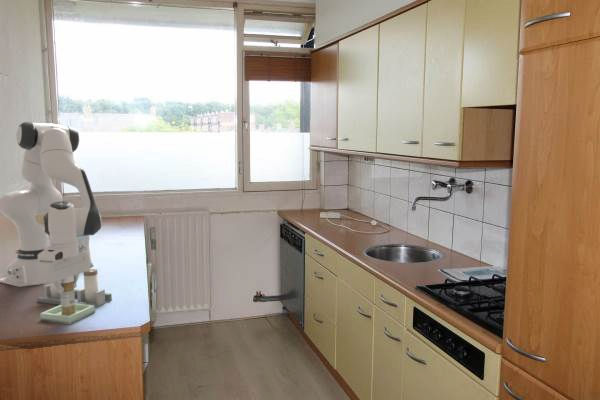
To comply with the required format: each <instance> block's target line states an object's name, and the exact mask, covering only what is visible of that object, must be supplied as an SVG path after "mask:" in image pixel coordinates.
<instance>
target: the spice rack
mask: <svg viewBox="0 0 600 400" xmlns="http://www.w3.org/2000/svg"><path fill="white" fill-rule="evenodd" d="M105 291H106V290H105V289H100V290H99V289H98V291H97V292H95V303H96V304H94V303H86V302H85V287H82V288H80V289H76V288H74V294H75V298H77V301H76V300H75V303H78V304H85V305H93V306H95V307H96V306H97V307H98V306H101V305H103V304H106V302H110V301H112V300H113V297H112V293H111V292H110V293H109V292H105ZM43 293H44V294H43V296H38V297H37V298H36V300H37V302H38V303H43V304H51V305H58V306H59V305H61V296H60V299H55V298H51V292H50V284H49V285H47V284H45V285H44V286H43Z"/></svg>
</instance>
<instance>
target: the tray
mask: <svg viewBox="0 0 600 400" xmlns="http://www.w3.org/2000/svg"><path fill="white" fill-rule="evenodd" d="M95 308H96V305H95V306H93V305H85V304H78V303H75V312H76V313H74V314H72V315H70V316H66V315H61V313H62V310H61V305H59V304H58V305H57V306H54V307H52V308H50V309H48V310H45V311H43V312H40V321H43V322H50V323H57V324H63V325H64V324H65V325H72V324H74V323H76V322H79V321H80V320H82V319H85V318H87V317H89V316H91V315H93V314H95V313H96V309H95Z"/></svg>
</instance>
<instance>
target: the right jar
mask: <svg viewBox="0 0 600 400" xmlns="http://www.w3.org/2000/svg"><path fill="white" fill-rule="evenodd" d="M98 273H99V272H98V269H95V268H90V269H89V270H88V271H85V272H83V273H82V274H83V284H84V287H85V302H86V303H94V304H95V305H96V303H95V292H97V291H99V282H98V281H99V280H98ZM84 287H83V288H84Z"/></svg>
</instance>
